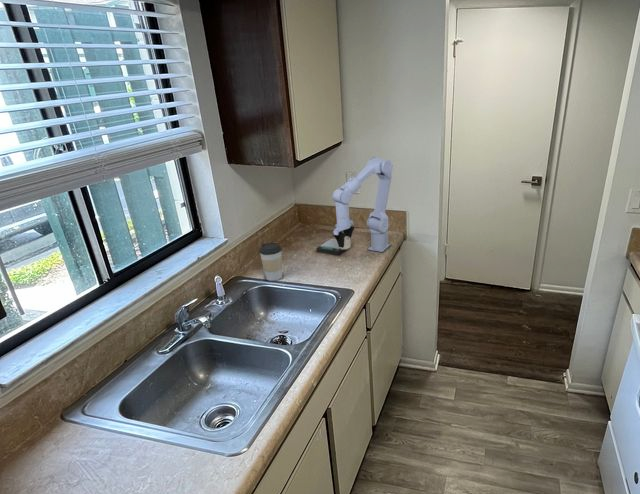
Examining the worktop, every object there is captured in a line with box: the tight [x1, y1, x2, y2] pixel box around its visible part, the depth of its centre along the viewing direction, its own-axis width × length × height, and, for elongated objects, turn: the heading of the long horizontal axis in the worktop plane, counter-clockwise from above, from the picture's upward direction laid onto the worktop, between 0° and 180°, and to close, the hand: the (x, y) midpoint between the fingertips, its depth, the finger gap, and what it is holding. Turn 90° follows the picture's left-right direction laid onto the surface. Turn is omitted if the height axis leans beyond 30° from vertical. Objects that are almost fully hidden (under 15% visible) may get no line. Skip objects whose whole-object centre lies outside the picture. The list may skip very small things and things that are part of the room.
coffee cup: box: [258, 242, 283, 282], centre depth 184 cm, size 9×9×15 cm
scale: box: [316, 238, 347, 256], centre depth 214 cm, size 12×12×3 cm
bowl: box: [338, 236, 352, 250], centre depth 198 cm, size 6×6×4 cm
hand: (344, 244), depth 198 cm, fingers closed on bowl, 5 cm apart
